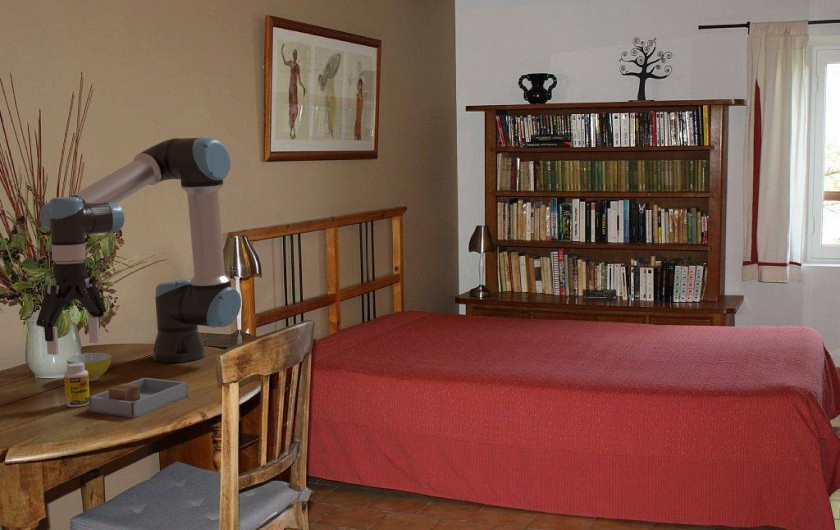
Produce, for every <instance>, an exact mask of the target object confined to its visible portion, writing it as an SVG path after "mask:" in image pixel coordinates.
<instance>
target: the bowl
mask: <svg viewBox="0 0 840 530" xmlns="http://www.w3.org/2000/svg"><path fill="white" fill-rule="evenodd" d="M75 362H82V363H84V367H85V370H86V371H88V378H89V382H95V381H98V380H99V379H100V376H102V375H103V374H104V373H105V372H106V371H107V370H108V369H109V367H110V365H111V362H112V355H111V354H110V353H105V352H87V353H80V354H76V355H71V356H69V357H67V358H66V363H67V365H68V364H70V363H75Z"/></svg>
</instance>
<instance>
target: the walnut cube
mask: <svg viewBox="0 0 840 530" xmlns="http://www.w3.org/2000/svg"><path fill="white" fill-rule="evenodd" d="M108 390H109V399H115V400H122V401H130V402H134V401H137V400H140V386H139V385H130V384H128V383H121V384H118V385H116V386H113V387H110V388H108Z"/></svg>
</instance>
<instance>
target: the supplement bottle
mask: <svg viewBox="0 0 840 530" xmlns="http://www.w3.org/2000/svg"><path fill="white" fill-rule="evenodd" d="M66 369H67V370H66V371H65V372H64V374H63V379H64V381H63V382H64V395H65V396H64V397H65V405H66V406H67V407H69V408H82V407H86V406H87V405H89V397H91V396H90V381H89V378H88V371H86V370H85V367H84V363H82V362H75V363H70V364H67V365H66Z"/></svg>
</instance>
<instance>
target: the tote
mask: <svg viewBox="0 0 840 530" xmlns="http://www.w3.org/2000/svg"><path fill="white" fill-rule="evenodd" d="M127 384H130V385H139V386H140V400H137V401H134V402H130V401H122V400H115V399H109V389H108V390H104V391H103V392H100V393H96V394H94V395H92V396H90V397H89V404H88V411H89V413H95V414H100V415H102V414H103V415H108V416H109V415H110V416H115V417H121V418H123V417H124V418H129V419H130V418H131V419H136V418H139V417H141V416H143V415H146V414H148V413H151V412H153V411H156V410H158V409H161V408H163V407H166V406H168V405H171V404H173V403H176V402H177V401H181V400H184V399H185V398H187V397H189V394H188V393H189V390H188V382H187V381H186V382H185V381H177V380H167V379H159V378H149V377H142V378H139V379H136V380H134V381H130V382H128V383H127Z"/></svg>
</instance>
